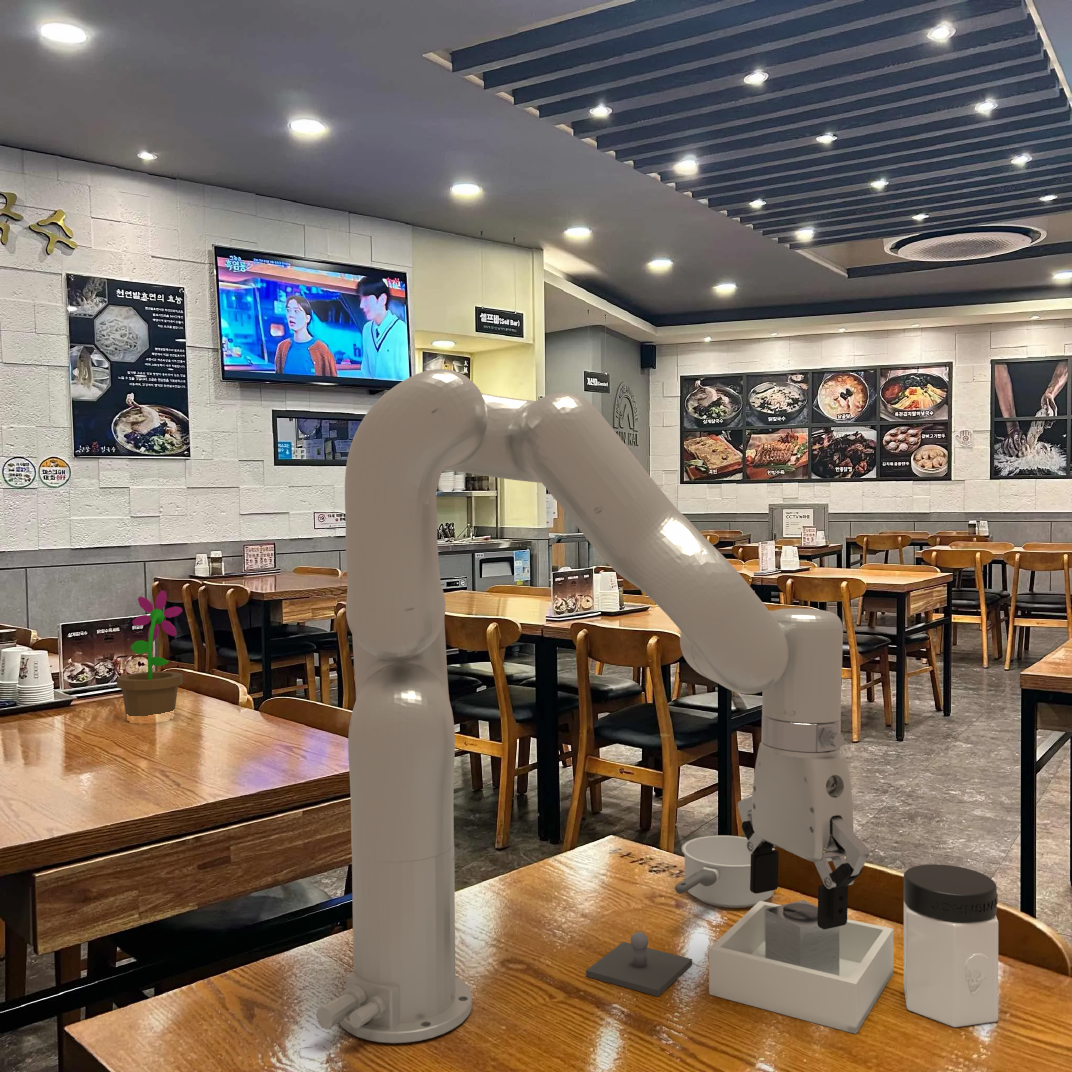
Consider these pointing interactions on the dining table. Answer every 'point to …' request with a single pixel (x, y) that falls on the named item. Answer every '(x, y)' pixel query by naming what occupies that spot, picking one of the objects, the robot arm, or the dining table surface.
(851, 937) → the bin
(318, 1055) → the dining table surface
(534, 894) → the dining table surface
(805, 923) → the metal block
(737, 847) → the saucepan
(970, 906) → the jar
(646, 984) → the ball stud
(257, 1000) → the dining table surface
